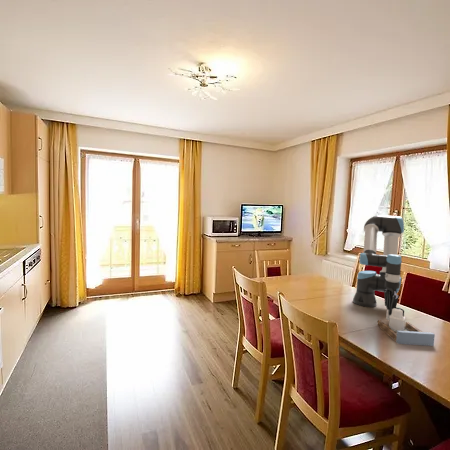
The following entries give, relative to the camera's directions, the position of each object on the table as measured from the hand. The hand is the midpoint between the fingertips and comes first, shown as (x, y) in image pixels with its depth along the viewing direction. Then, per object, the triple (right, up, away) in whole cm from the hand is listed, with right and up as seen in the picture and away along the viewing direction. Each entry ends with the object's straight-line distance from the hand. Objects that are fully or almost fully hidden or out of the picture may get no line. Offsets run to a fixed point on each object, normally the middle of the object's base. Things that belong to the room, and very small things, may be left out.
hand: (389, 319), depth 168 cm
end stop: (-1, -4, -25) cm, 25 cm away
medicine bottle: (0, -3, -8) cm, 9 cm away
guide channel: (-1, -3, -14) cm, 14 cm away
